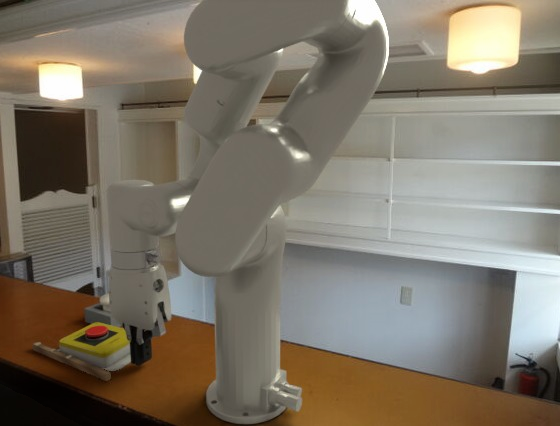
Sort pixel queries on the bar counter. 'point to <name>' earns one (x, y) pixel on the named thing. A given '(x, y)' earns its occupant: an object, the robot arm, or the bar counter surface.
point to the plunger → (105, 302)
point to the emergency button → (98, 346)
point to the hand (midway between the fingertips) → (141, 361)
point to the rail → (72, 361)
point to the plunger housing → (99, 315)
